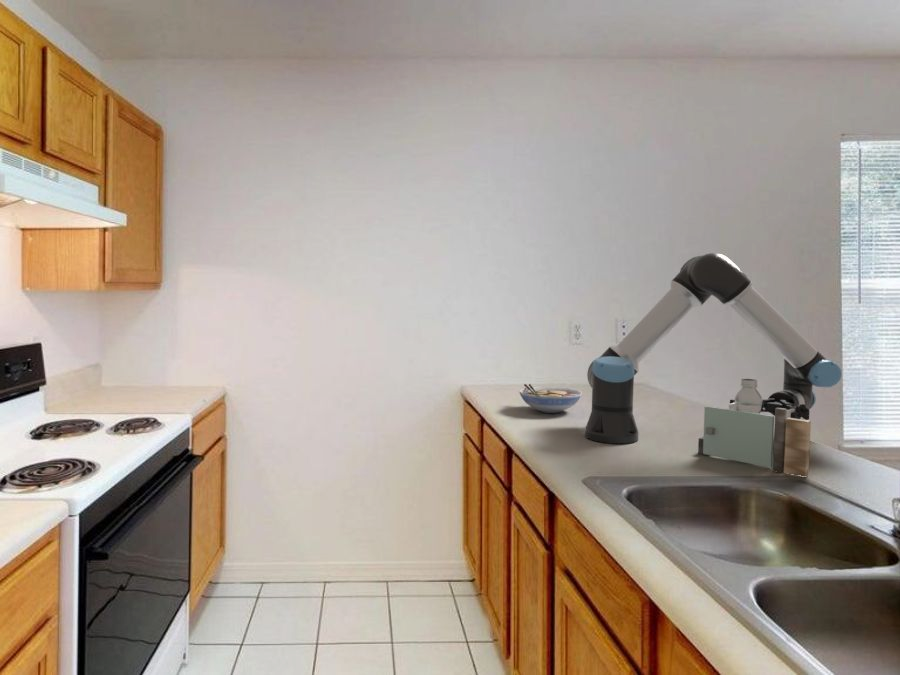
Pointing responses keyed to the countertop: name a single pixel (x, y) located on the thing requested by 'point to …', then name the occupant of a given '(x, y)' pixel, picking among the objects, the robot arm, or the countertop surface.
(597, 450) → the countertop surface
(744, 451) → the gate
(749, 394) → the plastic bottle
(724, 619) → the countertop surface
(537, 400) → the ramen bowl
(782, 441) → the brown wooden panel
